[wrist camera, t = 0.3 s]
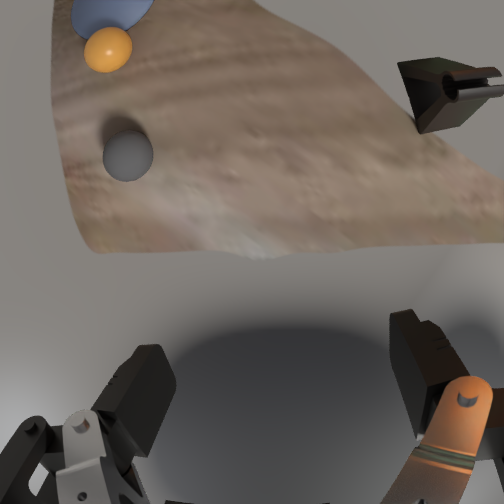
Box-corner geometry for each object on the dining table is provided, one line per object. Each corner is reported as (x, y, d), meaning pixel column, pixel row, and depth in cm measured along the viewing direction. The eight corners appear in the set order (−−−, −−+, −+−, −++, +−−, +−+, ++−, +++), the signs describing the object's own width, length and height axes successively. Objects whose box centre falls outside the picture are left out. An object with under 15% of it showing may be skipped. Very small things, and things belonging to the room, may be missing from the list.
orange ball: (98, 44, 31) (72, 35, 26) (137, 26, 30) (114, 13, 25) (103, 82, 33) (77, 77, 28) (143, 65, 32) (120, 56, 27)
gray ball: (114, 138, 36) (88, 140, 30) (155, 124, 35) (132, 122, 29) (124, 183, 38) (100, 191, 32) (166, 171, 37) (145, 177, 31)
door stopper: (396, 62, 29) (439, 35, 18) (437, 57, 28) (488, 35, 17) (418, 134, 32) (470, 136, 21) (458, 126, 31) (515, 128, 19)
